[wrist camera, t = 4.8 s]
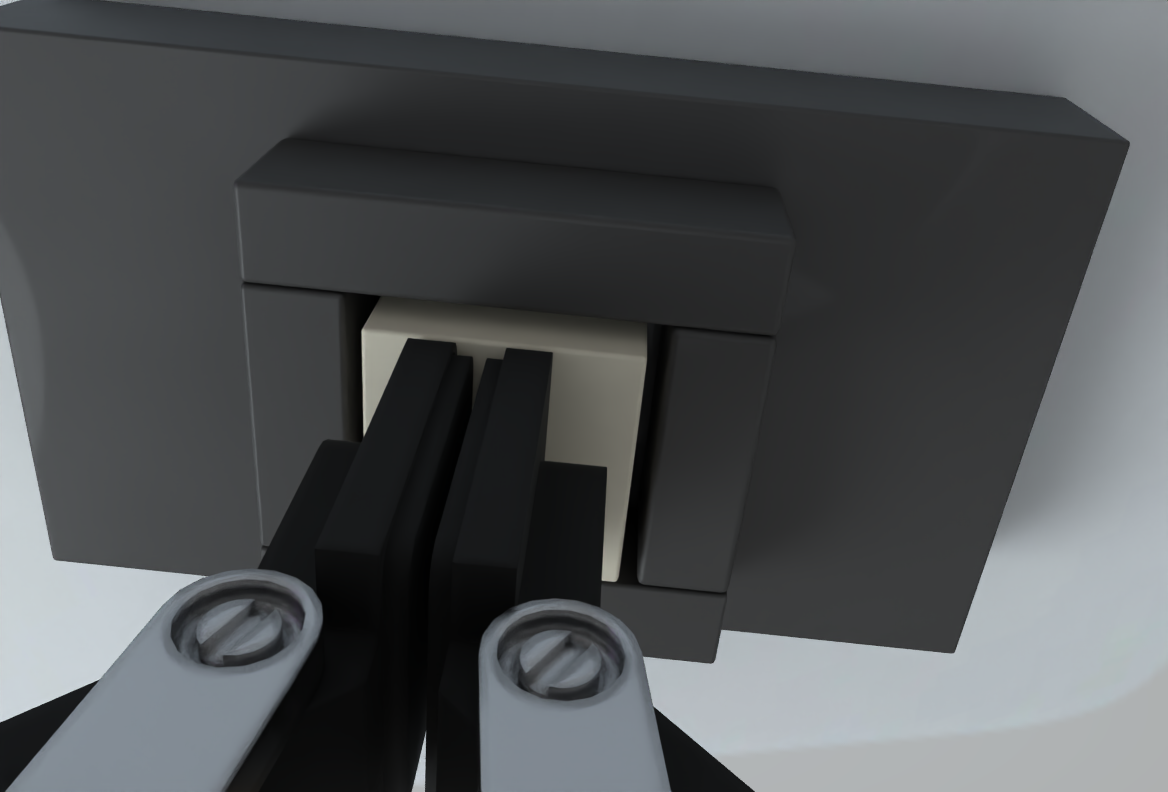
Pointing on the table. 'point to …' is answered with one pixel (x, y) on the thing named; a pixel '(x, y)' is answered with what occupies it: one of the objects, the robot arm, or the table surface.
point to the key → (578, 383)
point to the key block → (542, 291)
